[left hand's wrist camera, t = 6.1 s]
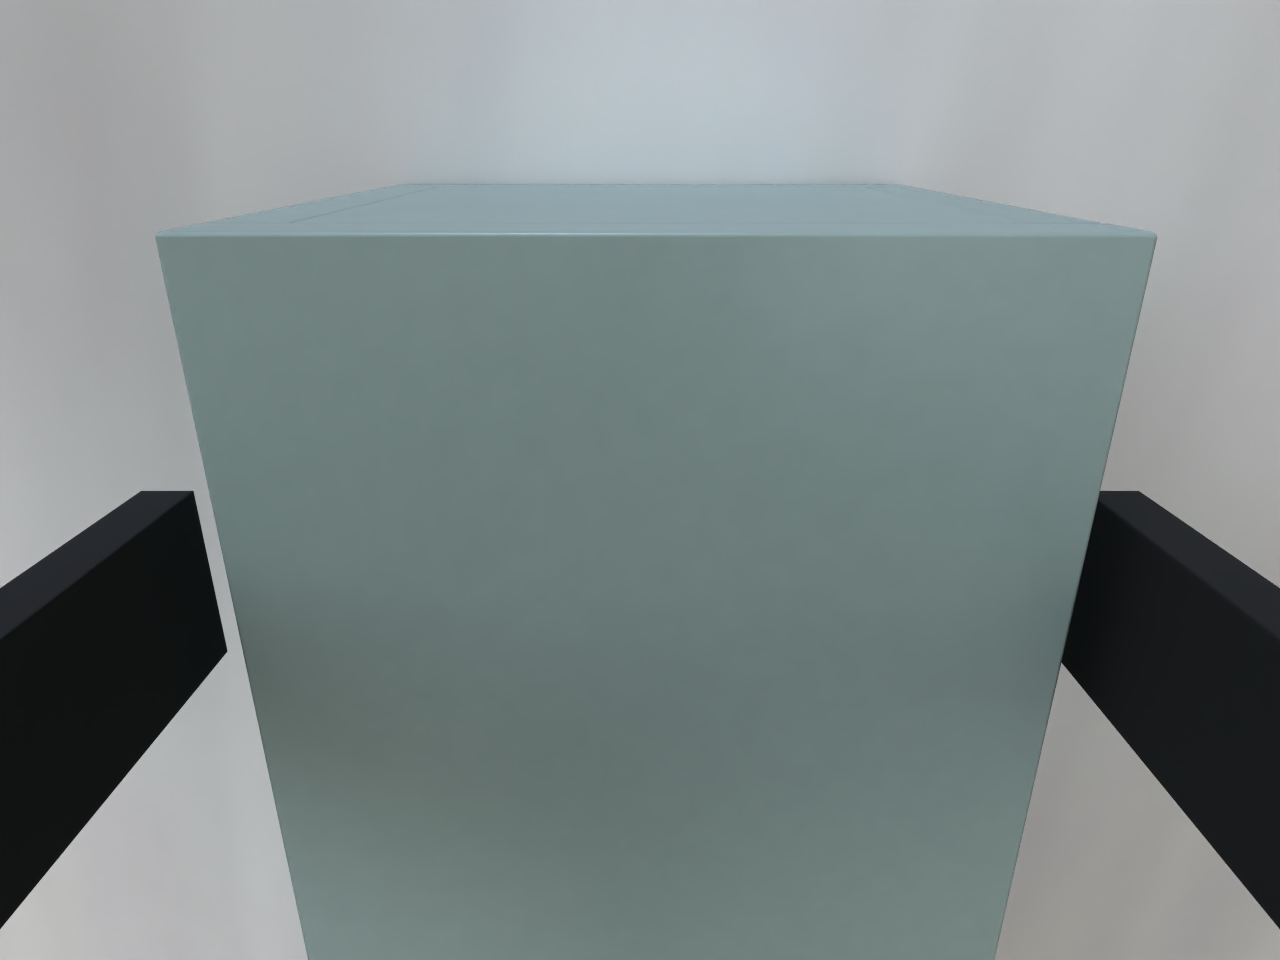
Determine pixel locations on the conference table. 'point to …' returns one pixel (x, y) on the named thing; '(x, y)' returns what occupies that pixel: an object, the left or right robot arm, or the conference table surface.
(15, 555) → the conference table surface
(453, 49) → the conference table surface
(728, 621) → the cabinet
